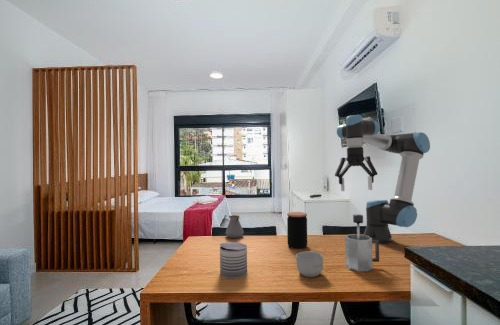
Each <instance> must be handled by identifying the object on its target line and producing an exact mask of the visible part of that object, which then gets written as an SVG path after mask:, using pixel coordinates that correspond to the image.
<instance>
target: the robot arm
mask: <svg viewBox="0 0 500 325" xmlns="http://www.w3.org/2000/svg"><path fill="white" fill-rule="evenodd" d="M380 126H381V125H380V123H379V122H378V121H376V120H372V119H369V120H367V119H364V120H363V116H362V115H361V114H353V115H348V116H347V117H346V118H345V123H343V124H339V125H338V126H337V128H336V135H337V136H338V138H340V139H346V147H347V148H346V156H347V157H344V156H343V157H341V158H340V162H339V165H338V166H337V168H336V171H335V173H334V177H338V184H339V185H340V191H341V192H346V191H345V177H344V175H345V174H346V173H347V172H348V171H349V169H350V168H351V167H361V168H362V169H363V170H364V172H366V174H367V175H368V176H367V190H370V191H373V183H374V181H375V179H374V177H375V176H377V175H378V172H377V170H376V168H375V166H374V164H373V163H372V160H371V157H370V155H369V156H364V147H363V146H364V143H365V144H366V145H371V146H373V147H378V149H379V150H381V151H386V152H388V153H392V154H399V156H401V162H400V166H399V170H398V171H399V172H398V176H397V180H396V185H395V186H396V187H395V190H394V196H393V197H391V198H390V200H389V201H388V199H377V200H376V199H375V200H368V201H367V202H366V206H365V207H366V208H365V209H366V210H365V213H366V215H365V216H366V218H365V219H366V225H365V226H366V227H365V229H364V233H363V235H366V236H369V237H371V238H372V240H378V241H379V244H380V243H381V244H385V243H391V242H392V241H393V237H392V234H391V232H390V229H389V225H393V226H398V227H400V228H402V227H403V228H410V227H412V226H413V225H414V224H415V223H416V220H417V217H418V212H417V211H418V210H417V208H416V207H415V203H414V202H413V201H412V198H413V194H414V189H415V185H416V184H415V183H416V178H417V174H418V169H419V163H420V160H421V159H423V158H424V155H425V154H427V153H428V152H429V151H430V149H431V143H430V139H429V137H428V135H427V134H426V133H424V132H421V131H420V132H417V131H414V132H411V133H410V132H409V133H401V134H399V133H398V134H388V133H384V134H381V133H379V132H380V129H381V127H380ZM364 161H365V162H366V163H364ZM346 162H347V164H346V166H344V165H345V163H346ZM366 164H367V165H366ZM367 166H368V167H367ZM343 167H344V168H343Z"/></svg>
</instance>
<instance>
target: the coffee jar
mask: <svg viewBox="0 0 500 325" xmlns="http://www.w3.org/2000/svg"><path fill="white" fill-rule="evenodd" d="M286 215H287V218H286V223H287V224H286V225H287V226H286V227H287V245H288V247H289V248H290V249H292V250H293V249H295V250H304V249H305V248H307V247H308V217H307V215H308V213H307V212H301V211H291V212H288V213H286Z"/></svg>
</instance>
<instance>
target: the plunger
mask: <svg viewBox="0 0 500 325" xmlns="http://www.w3.org/2000/svg"><path fill="white" fill-rule="evenodd" d="M352 217H353V218H352V220H353V223H354V224H356V234H357V240H360V235H361V232H360V224H363V223H364V215H363V214H356V213H355V214H353V215H352Z"/></svg>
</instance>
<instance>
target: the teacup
mask: <svg viewBox="0 0 500 325" xmlns="http://www.w3.org/2000/svg"><path fill="white" fill-rule="evenodd" d="M295 257H296V258H295V259H296V260H295V261H296V268H297V271H298V272H299V273H300V274H301V275H302V276H304V277H307V278H315V277H317V276H319V275H320V274H321V273H322V272H323V269H324V258H323V254H322V253H320V252H317V251H314V250H310V251H309V250H307V251H300V252H297V253H296V254H295Z"/></svg>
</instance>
